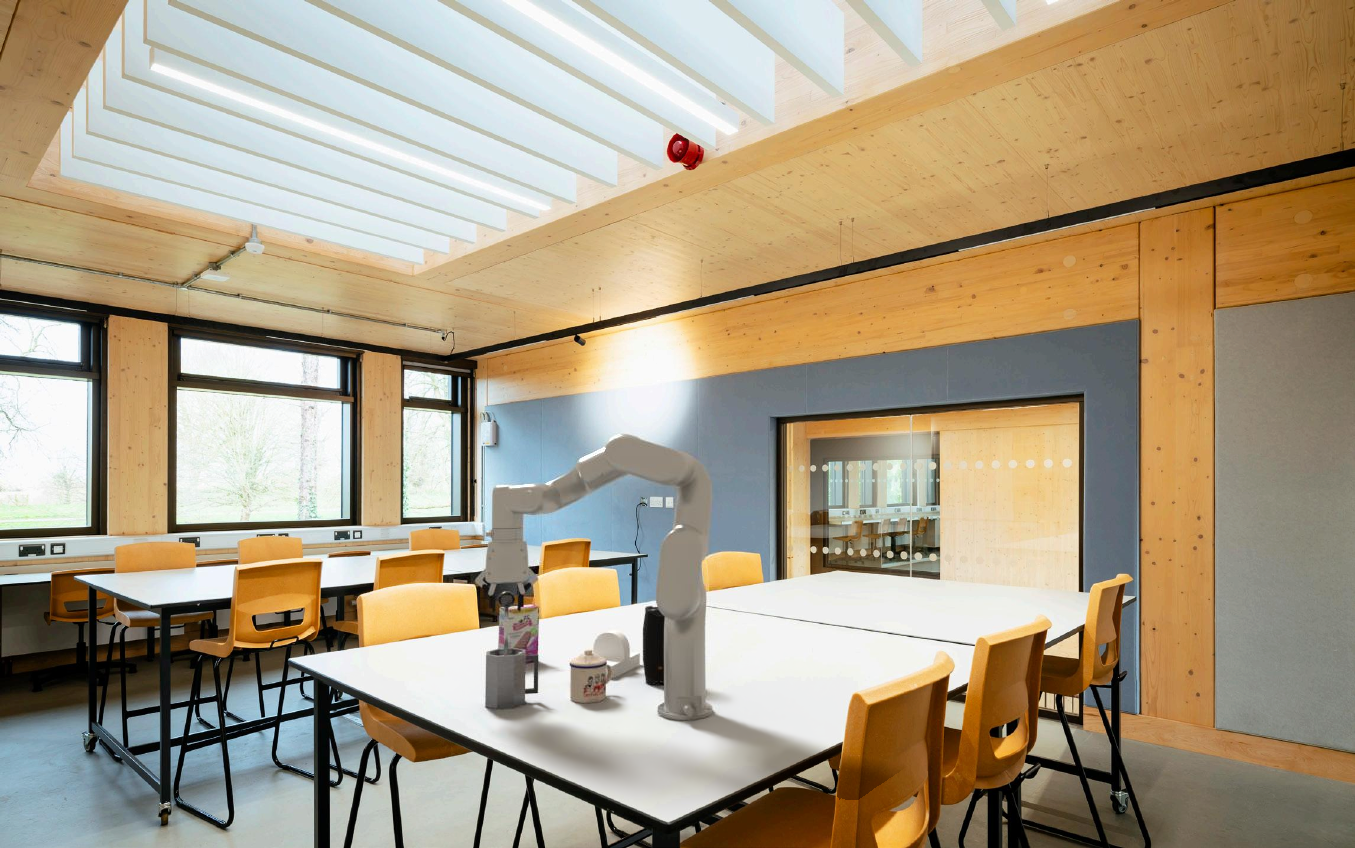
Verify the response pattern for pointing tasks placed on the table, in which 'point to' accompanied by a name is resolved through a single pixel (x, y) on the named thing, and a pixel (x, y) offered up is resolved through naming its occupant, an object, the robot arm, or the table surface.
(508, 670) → the grey faceted mug
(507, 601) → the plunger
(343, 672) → the table surface
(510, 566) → the robot arm
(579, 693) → the teacup with lid
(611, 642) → the white arched block
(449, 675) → the table surface
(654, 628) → the portable speaker
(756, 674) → the table surface
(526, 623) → the candy bar box
